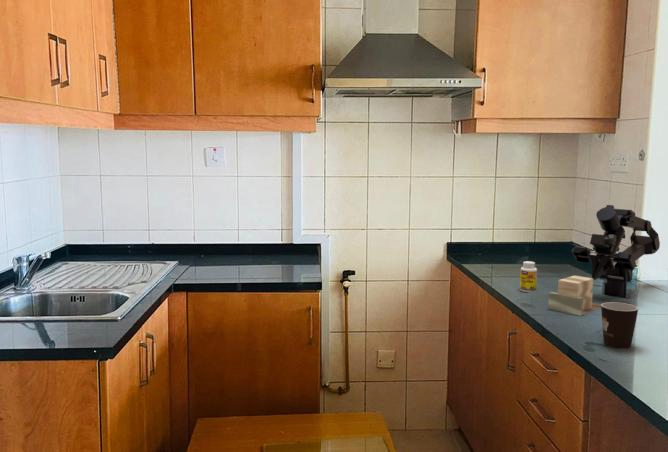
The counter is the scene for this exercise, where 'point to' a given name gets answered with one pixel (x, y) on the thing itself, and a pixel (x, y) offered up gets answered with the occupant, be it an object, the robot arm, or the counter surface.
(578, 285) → the block
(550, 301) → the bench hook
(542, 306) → the counter surface
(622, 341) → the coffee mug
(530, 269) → the supplement bottle
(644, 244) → the robot arm
